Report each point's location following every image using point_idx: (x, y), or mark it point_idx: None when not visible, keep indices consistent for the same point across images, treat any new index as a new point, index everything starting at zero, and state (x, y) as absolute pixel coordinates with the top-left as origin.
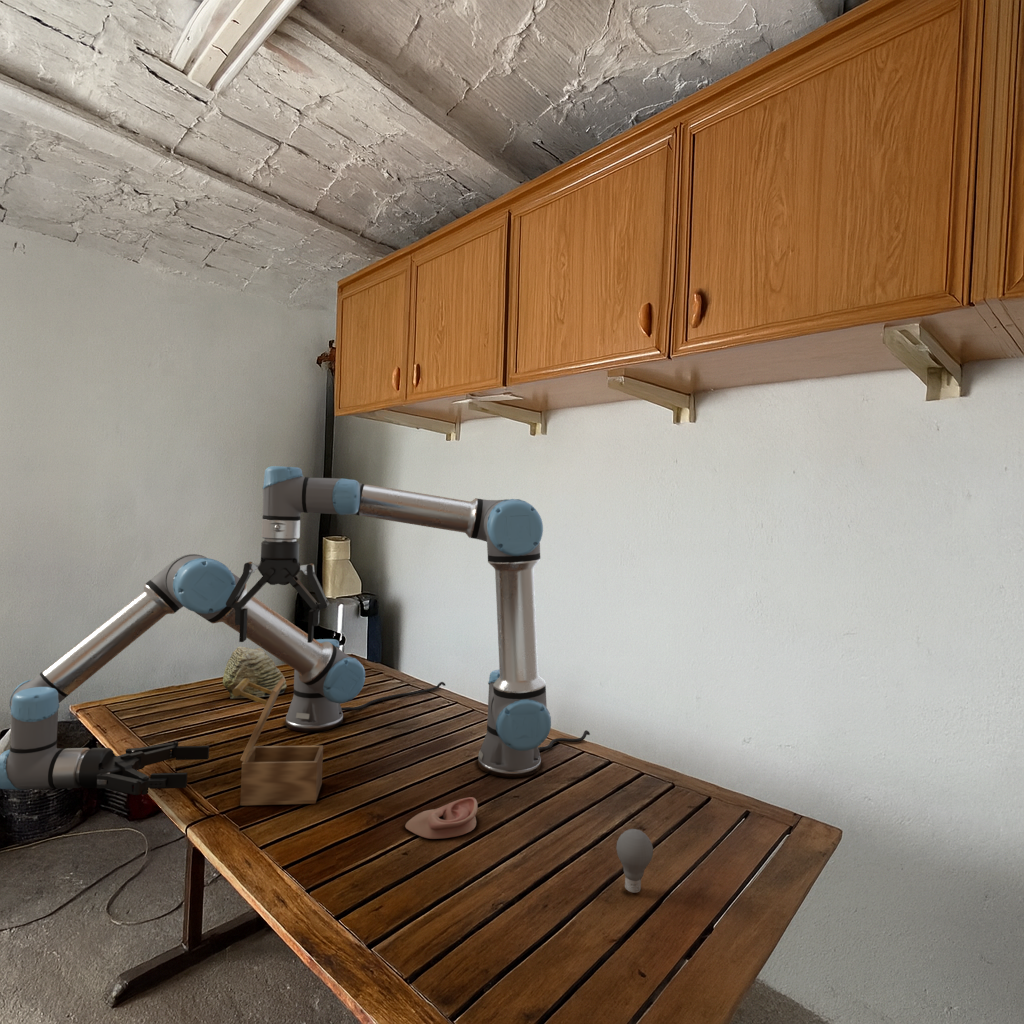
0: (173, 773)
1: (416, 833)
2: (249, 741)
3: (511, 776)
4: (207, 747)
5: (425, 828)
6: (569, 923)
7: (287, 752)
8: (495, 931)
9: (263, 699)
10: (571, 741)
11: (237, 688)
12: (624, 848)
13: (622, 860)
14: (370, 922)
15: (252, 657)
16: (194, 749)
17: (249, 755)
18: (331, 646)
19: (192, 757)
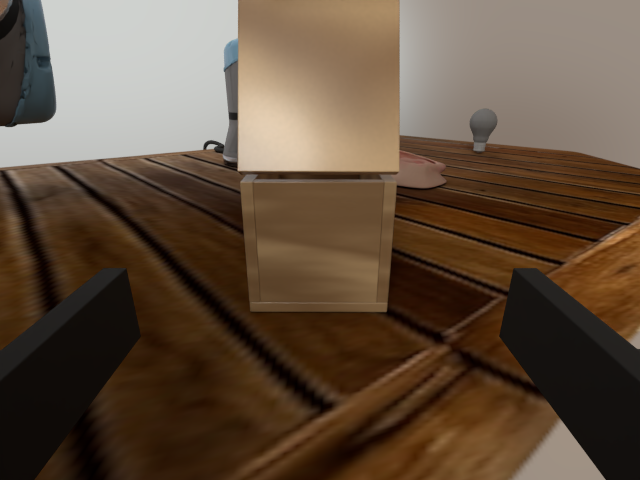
0: (567, 308)
1: (440, 183)
2: (398, 97)
3: None
4: (125, 271)
5: (436, 176)
6: (533, 162)
7: (270, 175)
8: (571, 172)
9: None
10: (222, 147)
11: None
12: (495, 118)
13: (492, 127)
14: (630, 199)
15: None
16: (79, 329)
17: (326, 180)
18: None
19: (85, 390)
